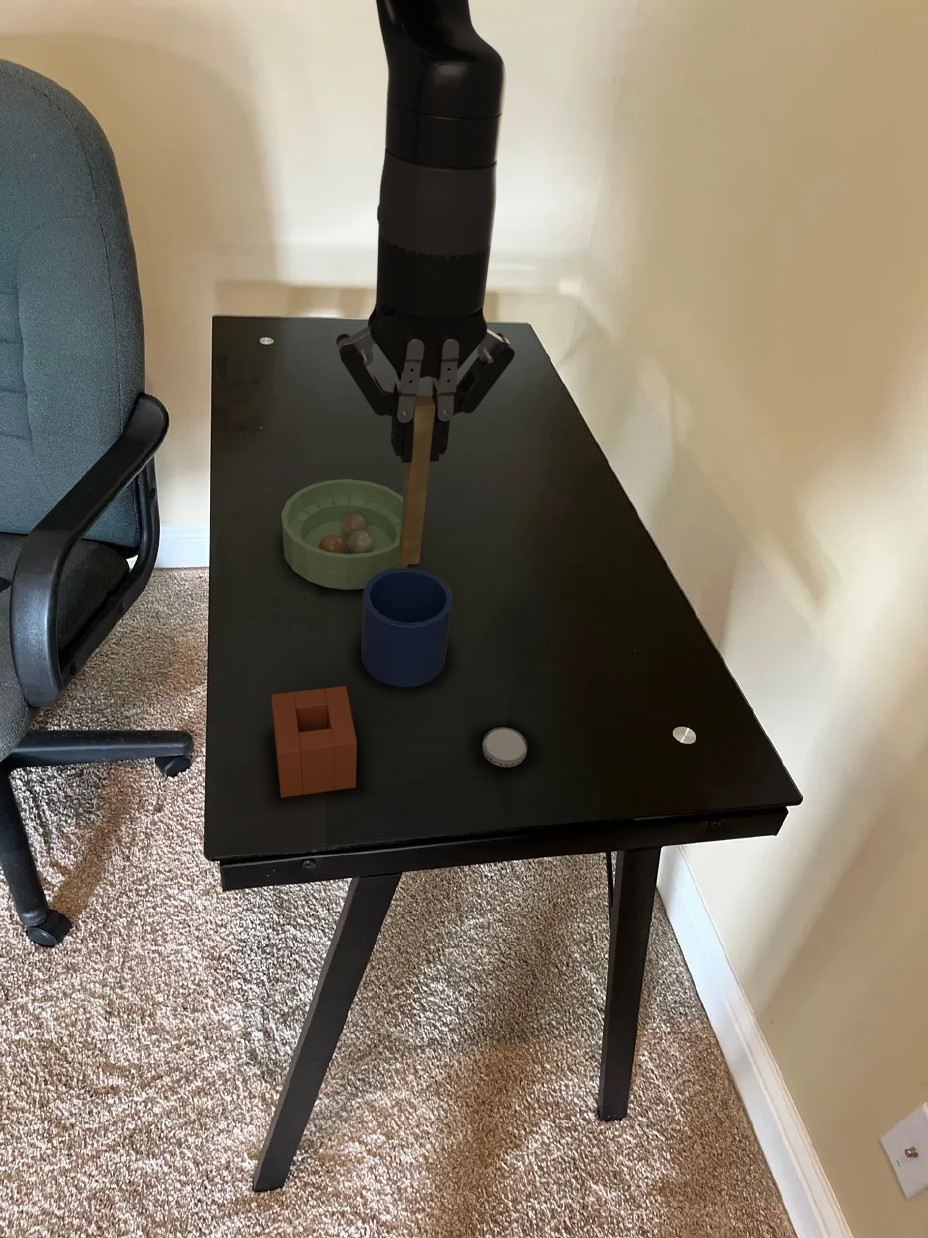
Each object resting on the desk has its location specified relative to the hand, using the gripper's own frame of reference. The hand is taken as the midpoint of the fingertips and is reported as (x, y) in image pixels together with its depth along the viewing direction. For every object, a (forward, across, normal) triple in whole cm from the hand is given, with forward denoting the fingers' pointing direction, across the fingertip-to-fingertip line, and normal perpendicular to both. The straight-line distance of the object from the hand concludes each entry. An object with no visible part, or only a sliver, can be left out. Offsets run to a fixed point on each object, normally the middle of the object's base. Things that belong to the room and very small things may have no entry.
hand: (418, 456), depth 66 cm
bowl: (+23, -3, +17) cm, 29 cm away
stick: (+11, 0, 0) cm, 11 cm away
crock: (+23, 0, 0) cm, 23 cm away
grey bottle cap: (+23, +7, -13) cm, 27 cm away
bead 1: (+21, -5, +15) cm, 26 cm away
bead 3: (+21, -2, +16) cm, 26 cm away
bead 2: (+21, -2, +19) cm, 28 cm away
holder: (+23, -10, -12) cm, 28 cm away
